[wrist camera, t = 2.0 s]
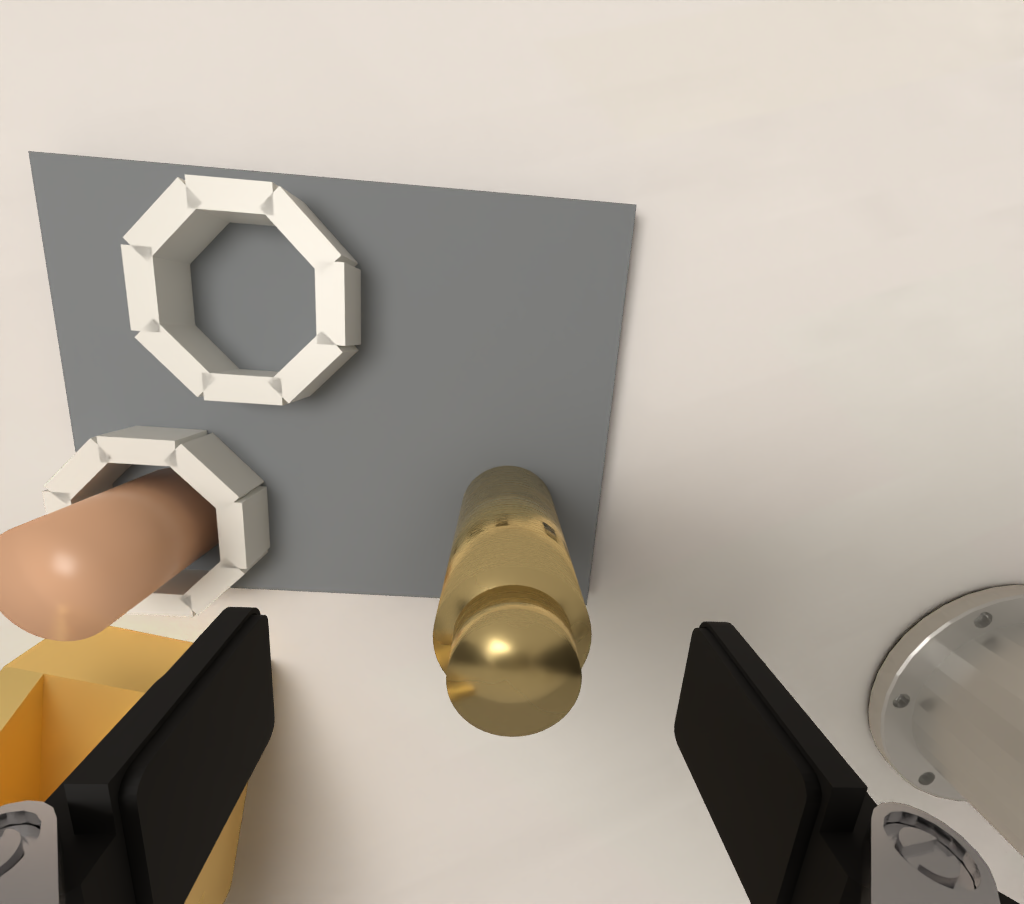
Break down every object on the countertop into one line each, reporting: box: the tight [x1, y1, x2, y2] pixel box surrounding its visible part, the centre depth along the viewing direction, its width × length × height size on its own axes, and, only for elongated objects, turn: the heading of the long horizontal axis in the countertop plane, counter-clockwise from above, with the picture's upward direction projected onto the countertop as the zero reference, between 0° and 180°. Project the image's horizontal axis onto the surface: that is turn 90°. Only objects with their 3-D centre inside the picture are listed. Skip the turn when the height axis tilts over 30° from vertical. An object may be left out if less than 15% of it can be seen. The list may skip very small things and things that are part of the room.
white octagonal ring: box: [121, 174, 361, 405], centre depth 17 cm, size 7×7×2 cm
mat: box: [29, 151, 636, 605], centre depth 20 cm, size 22×17×1 cm
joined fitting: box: [0, 426, 270, 641], centre depth 17 cm, size 7×7×6 cm
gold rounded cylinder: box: [433, 466, 591, 737], centre depth 16 cm, size 4×4×10 cm
